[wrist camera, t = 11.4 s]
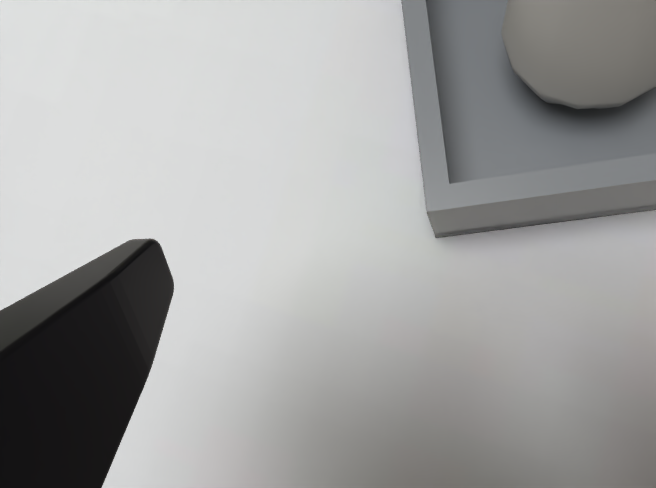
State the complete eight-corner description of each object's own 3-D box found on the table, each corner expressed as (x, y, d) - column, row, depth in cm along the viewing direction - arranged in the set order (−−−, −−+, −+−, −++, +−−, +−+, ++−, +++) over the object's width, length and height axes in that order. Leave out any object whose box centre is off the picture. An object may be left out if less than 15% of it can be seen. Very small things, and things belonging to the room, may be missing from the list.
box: (718, -112, 22) (767, -210, 18) (798, 191, 20) (874, 149, 16) (402, -38, 25) (388, -110, 21) (435, 237, 22) (426, 211, 19)
